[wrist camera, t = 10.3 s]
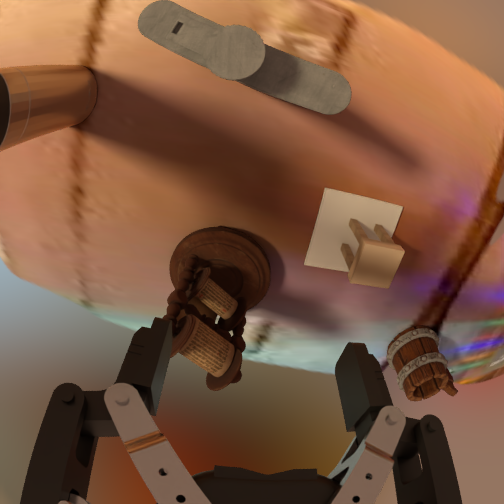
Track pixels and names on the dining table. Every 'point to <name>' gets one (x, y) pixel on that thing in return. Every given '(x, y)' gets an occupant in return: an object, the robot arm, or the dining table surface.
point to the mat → (346, 226)
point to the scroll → (215, 299)
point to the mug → (419, 364)
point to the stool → (372, 257)
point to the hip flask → (244, 58)
